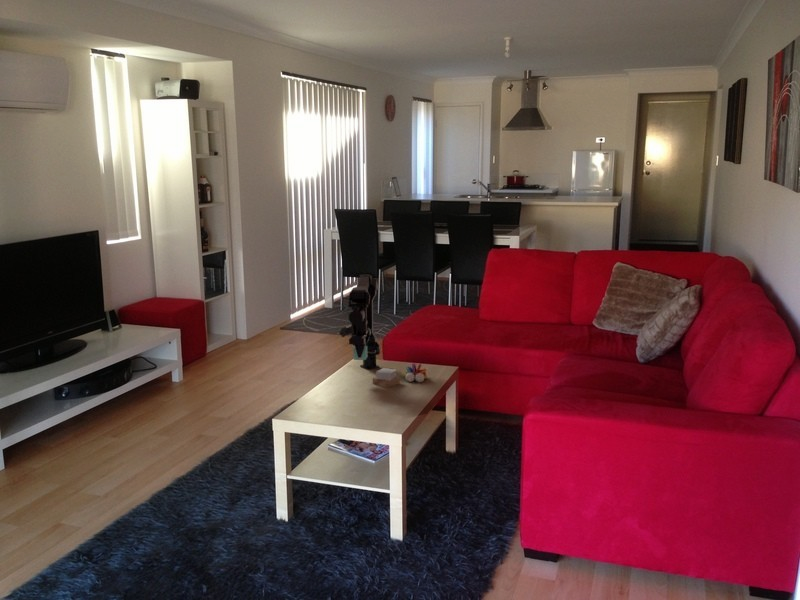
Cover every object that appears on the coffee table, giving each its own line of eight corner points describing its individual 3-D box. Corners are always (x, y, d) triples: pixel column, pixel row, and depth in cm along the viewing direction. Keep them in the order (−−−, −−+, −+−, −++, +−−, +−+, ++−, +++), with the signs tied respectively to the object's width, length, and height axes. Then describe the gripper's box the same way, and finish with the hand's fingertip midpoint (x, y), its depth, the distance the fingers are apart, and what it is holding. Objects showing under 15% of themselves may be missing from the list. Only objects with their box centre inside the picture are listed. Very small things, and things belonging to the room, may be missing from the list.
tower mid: (375, 379, 292) (375, 372, 292) (383, 374, 298) (383, 368, 298) (389, 380, 290) (389, 373, 289) (396, 376, 295) (396, 369, 295)
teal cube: (353, 359, 291) (353, 348, 290) (355, 356, 296) (355, 345, 295) (365, 360, 291) (365, 348, 290) (367, 356, 295) (367, 345, 294)
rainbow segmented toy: (425, 383, 294) (425, 366, 293) (403, 382, 296) (402, 366, 294) (428, 377, 302) (428, 361, 301) (406, 376, 304) (405, 360, 303)
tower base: (372, 384, 295) (372, 378, 294) (386, 380, 300) (386, 373, 300) (385, 388, 289) (385, 381, 288) (399, 384, 295) (399, 377, 294)
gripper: (345, 314, 300) (346, 349, 303) (335, 324, 282) (337, 361, 285) (370, 314, 299) (371, 350, 302) (363, 324, 281) (364, 362, 284)
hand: (360, 355), depth 293 cm, fingers closed on teal cube, 5 cm apart
